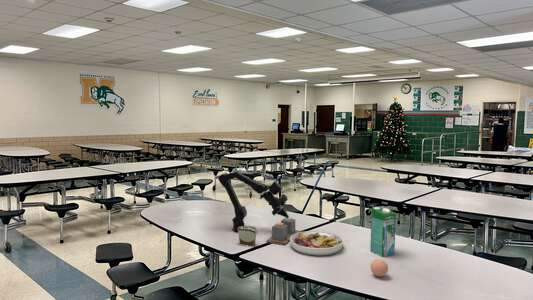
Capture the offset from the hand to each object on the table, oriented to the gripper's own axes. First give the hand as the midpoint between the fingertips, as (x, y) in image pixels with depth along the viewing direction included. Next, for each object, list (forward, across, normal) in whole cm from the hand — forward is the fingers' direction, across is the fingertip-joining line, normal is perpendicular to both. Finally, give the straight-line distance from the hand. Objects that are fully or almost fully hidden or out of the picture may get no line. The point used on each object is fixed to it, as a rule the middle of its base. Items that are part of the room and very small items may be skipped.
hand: (288, 217), depth 231 cm
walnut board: (+7, -7, +9) cm, 13 cm away
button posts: (+6, -7, +8) cm, 12 cm away
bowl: (+22, -19, -6) cm, 29 cm away
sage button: (+2, 0, +2) cm, 3 cm away
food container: (-6, -23, +21) cm, 32 cm away
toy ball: (+45, -50, -29) cm, 73 cm away
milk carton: (+48, -19, -31) cm, 60 cm away
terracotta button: (0, -13, +4) cm, 14 cm away
